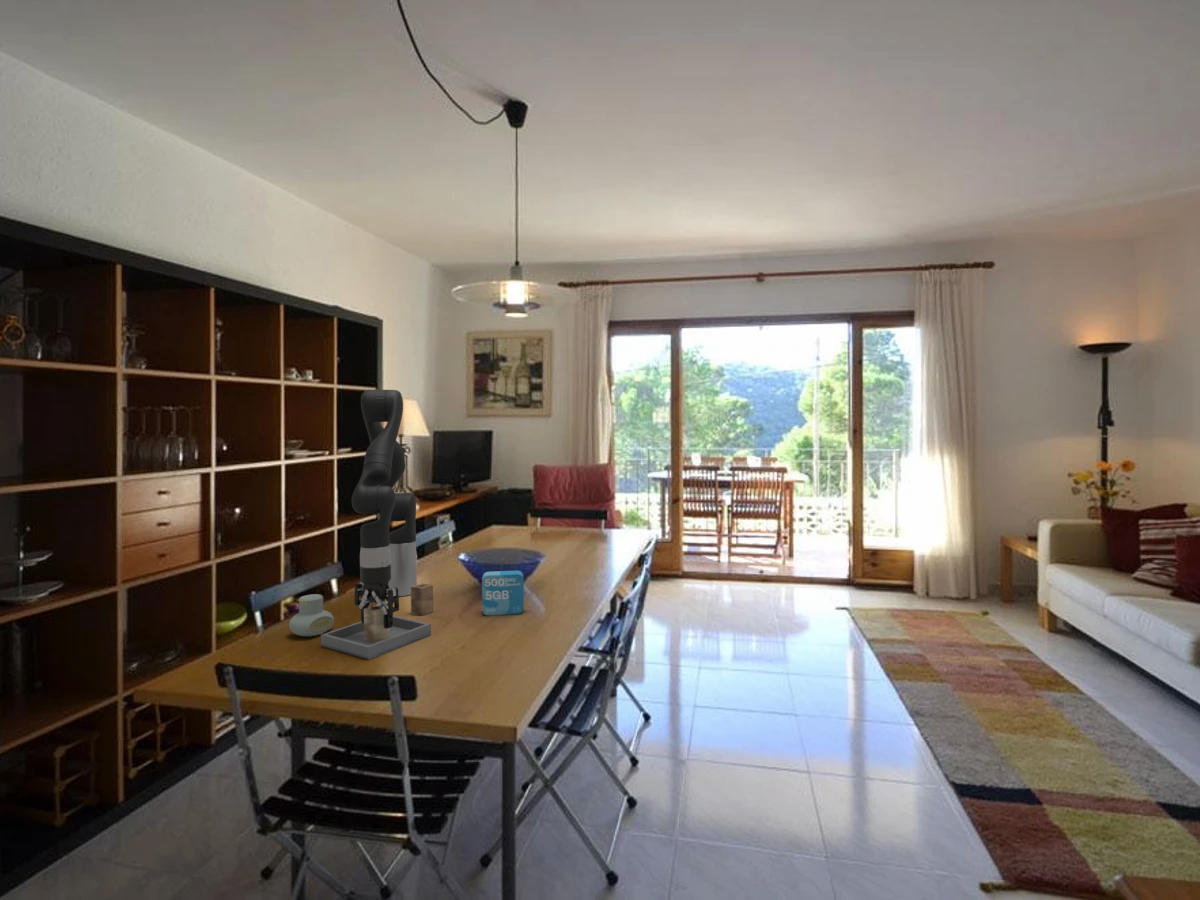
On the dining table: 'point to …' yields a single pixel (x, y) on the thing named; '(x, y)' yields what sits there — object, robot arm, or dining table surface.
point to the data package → (502, 593)
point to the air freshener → (311, 617)
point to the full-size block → (421, 599)
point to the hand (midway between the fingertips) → (377, 625)
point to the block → (375, 624)
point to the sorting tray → (356, 645)
